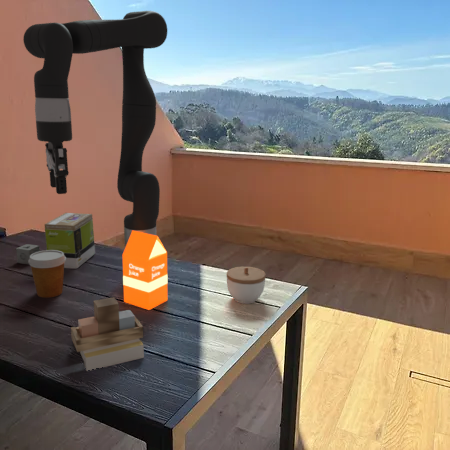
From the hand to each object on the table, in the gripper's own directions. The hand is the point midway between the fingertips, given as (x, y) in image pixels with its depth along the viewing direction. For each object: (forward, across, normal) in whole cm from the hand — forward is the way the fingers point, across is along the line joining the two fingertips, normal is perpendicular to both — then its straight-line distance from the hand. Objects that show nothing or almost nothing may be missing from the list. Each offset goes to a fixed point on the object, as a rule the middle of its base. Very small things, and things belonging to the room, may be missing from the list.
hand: (58, 190), depth 110 cm
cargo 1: (+28, -21, -1) cm, 35 cm away
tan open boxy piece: (+29, -21, -5) cm, 36 cm away
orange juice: (+32, -2, -20) cm, 38 cm away
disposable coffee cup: (+32, +14, +2) cm, 35 cm away
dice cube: (+32, +46, +4) cm, 56 cm away
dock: (+32, -21, -5) cm, 39 cm away
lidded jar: (+32, -10, -46) cm, 57 cm away
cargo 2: (+28, -21, -9) cm, 36 cm away
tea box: (+32, +41, -9) cm, 53 cm away
